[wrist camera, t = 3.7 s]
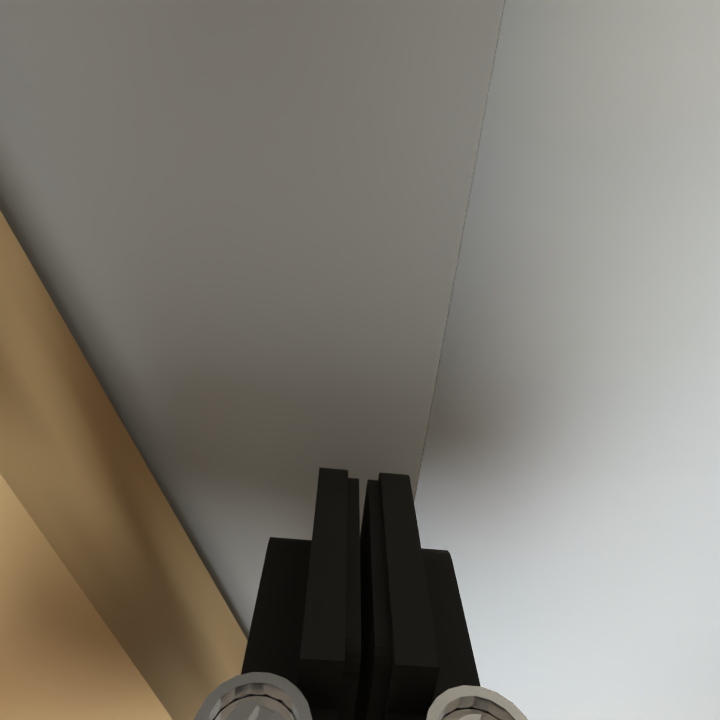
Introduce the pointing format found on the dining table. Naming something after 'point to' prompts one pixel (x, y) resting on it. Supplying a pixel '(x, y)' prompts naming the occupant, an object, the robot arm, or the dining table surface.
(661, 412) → the dining table surface
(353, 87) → the base plate
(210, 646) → the oak link
